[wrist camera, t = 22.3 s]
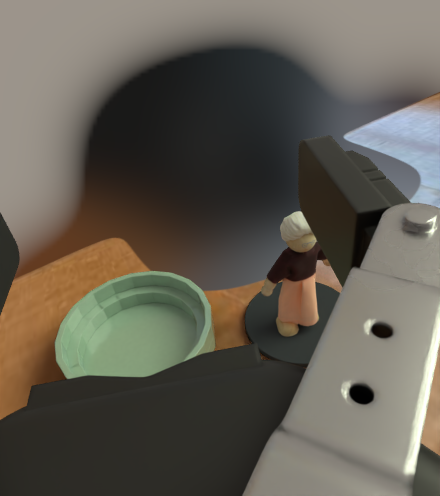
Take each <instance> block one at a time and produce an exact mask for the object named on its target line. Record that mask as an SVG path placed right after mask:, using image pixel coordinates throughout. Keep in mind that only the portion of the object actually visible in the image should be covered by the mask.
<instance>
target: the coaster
mask: <svg viewBox="0 0 440 496" xmlns="http://www.w3.org/2000/svg"><path fill="white" fill-rule="evenodd" d="M282 284H283V282H280V283H277V284H276V286H275V288H274V289H273V292H272V294H271V295H270V296H264V295H263V294H262V292H259V293H258V294H257V295H256V296H255V297H254V298H253V299H252V301H251V302H250V304H249V306H248V308H247V310H246V314H245V328H246V332H247V335H248V338H249V339H250V341H251V343H252V344H255V343H257V344H258V348H259V352H260V353H261V354H263V355H264V356H266V357H267V358H269V359H271V360H274V361H281V362H286V363H290V364H294V365H298V366H300V367H308V365H309V362H310V360H311V358H312V356H313V353H314V351H315V349H316V347H317V344H318V342H319V340H320V338H321V335H322V333H323V331H324V329H325V326H326V324H327V322H328V320H329V318H330V315H331V313H332V311H333V309H334V306H335V304H336V302H337V300H338V297H339V295H340V293H339V292H337V291H336V290H334V289H332V288H331V287H329V286H326V285H324V284H321V283H317V282H315V287H316V299H317V312H318V316H319V320H318V321H317V322H316V323H315V324H314V325H311V326H303V325H300V324H297V325H298V328H299V330H298V332H297V334H295V335H293V336H289V337H286V336H283V335H281V334H280V333H279V331H278V327H277V323H276V319H277V317H278V310H279V308H278V305H279V295H280V292H281V287H282Z"/></svg>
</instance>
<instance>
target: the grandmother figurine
mask: <svg viewBox="0 0 440 496" xmlns="http://www.w3.org/2000/svg"><path fill="white" fill-rule="evenodd" d="M280 231H281V236H282V238H283V240H285V241H286V242H287V245H288V246H289V247H288V248H287V249H285V250H284V251H283V252H282V254H281V255H280V257H279V258H278V259H277V261H276V262H275V264H274V265H273V267H272V268H271V270H270V271H269V273H268V275H267V278H266V280H265V282H264V286H263V287H262V289H261V292H262V294H263V295H264V296H270V295H271V294H272V292H273V289H274V288H275V286H276V284H277V283H278V282H279V281H281V280H282V279H283V284H282V287H281V292H280V295H279V305H278V308H279V310H278V317H277V319H276V323H277V327H278V331H279V333H280V334H281V335H283V336H286V337H289V336H293V335H295V334H297V332H298V330H299V328H298V325H297V324H300V325H303V326H311V325H314V324H315V323H316V322H317V321H318V320H319V316H318V312H317V299H316V287H315V275H316V263H317V260H322V261H323V263H324V265H326V266H331V265H330V264H329V262H328V260H327V258H326V256H325V254H324V253H323V251H322V249H321V247H320V245H319V243H318V242H316V238H315V236H314V234H313V232H312V231H311V229H310V227H309V225H308V223H307V221H306V220H305V218H304V216H303V214H302V212H294V213H293V214H291V215H290V216H288V217H285V218H284V221H283V223H282V224H281V226H280Z"/></svg>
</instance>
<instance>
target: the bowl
mask: <svg viewBox="0 0 440 496" xmlns="http://www.w3.org/2000/svg"><path fill="white" fill-rule="evenodd" d="M215 346H216V343H215V327H214V322H213V316H212V311H211V306H210V304H209V302H208V300H207V298H206V296H205V294H204V292H203V290H201V289H200V288H199V287H198V286H197V285H195V284H194V283H193V282H192V281H190V280H189V279H187V278H184V277H181V276H179V275H176V274H173V273H167V272H157V271H148V272H139V273H131V274H128V275H125V276H122V277H119V278H116V279H113V280H110V281H108V282H106V283H104V284H103V285H101V286H99V287H97V288H95V289H94V290H92V291H90V292H89V293H88V294H87V295H85V296H84V297H83V298H82V299H81V300H80V301H79V302H77V303H76V304H75V305H74V306H73V307H72V308H71V310H70V311H69V313H68V314H67V315H66V317H65V318H64V320H63V321H62V322H61V325H60V328H59V331H58V334H57V337H56V340H55V353H56V362H57V364H58V365H59V367H60V369H61V371H62V372H63V374H64V376H65V377H66V379H71V378H76V377H81V376H86V375H96V376H122V377H146V376H150V375H153V374H155V373H157V372H160V371H162V370H165V369H167V368H169V367H172V366H174V365H176V364H179V363H181V362H183V361H186V360H188V359H191V358H193V357H195V356H198V355H200V354H202V353H207V352H213V351H214V349H215Z"/></svg>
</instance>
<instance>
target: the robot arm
mask: <svg viewBox="0 0 440 496" xmlns="http://www.w3.org/2000/svg"><path fill="white" fill-rule="evenodd" d="M298 179H299V181H298V185H299V186H298V189H299V190H298V195H299V203H300V208H301V211H302V214H303V216H304V218H305V220H306V221H307V223H308V225H309V227H310V229H311V231H312V232H313V234H314V236H315V238H316V240H317V242H318V243H319V245H320V247H321V249H322V251H323V253H324V254H325V256H326V258H327V260H328V262H329V264H330V265H331V267H332V269H333V271H334V273H335V274H336V276H337V278H338V280H339V282H340V284H341V285H342V287H343V288H342V291H341V293H340V295H339V297H338V300H337V302H336V304H335V306H334V309H333V311H332V313H331V315H330V318H329V320H328V322H327V324H326V326H325V329H324V331H323V333H322V335H321V338H320V340H319V342H318V344H317V347H316V349H315V351H314V353H313V356H312V358H311V360H310V362H309V365H308V367H307V369H305V368H303V367H300V366H298V365H294V364H290V363H286V362H281V361H274V360H262V359H261V355H260V352H259V348H258V344H257V343H255V344H249V345H244V346H239V347H234V348H228V349H223V350H218V351H213V352H207V353H202V354H200V355H198V356H195V357H193V358H191V359H188V360H186V361H183V362H181V363H179V364H176V365H174V366H172V367H169V368H167V369H165V370H162V371H160V372H157V373H155V374H153V375H150V376H146V377H122V376H96V375H86V376H81V377H76V378H71V379H65V380H60V381H55V382H50V383H44V384H39V385H34V386H31V391H30V395H29V399H28V403H27V406H26V407H23V408H21V409H19V410H17V411H15V412H13V413H12V414H10V415H8V416H6V417H5V418H3V419H1V420H0V496H440V456H439V455H438V454H436V453H435V452H433V451H432V450H430V449H429V448H427V447H426V446H424V445H423V444H421V438H422V432H423V427H424V422H425V417H426V412H427V406H428V401H429V396H430V391H431V385H432V380H433V375H434V370H435V364H436V359H437V354H438V349H439V344H440V208H438V207H435V206H431V205H427V204H420V203H411V202H410V201H409V200H408V199H407V198H406V197H405V196H404V195H403V194H402V193H401V192H400V191H399V190H398V189H397V188H396V187H395V185H394V184H393V183H392V182H391V181H390V180H389V179H386V176H385V175H384V174H383V173H382V172H381V171H380V170H378V168H377V167H376V166H375V165H374V164H373V162H371V160H370V159H369V158H367V157H365V156H363V155H361V154H358V153H356V152H354V151H346V152H345V151H344V150H343V149H342V148H341V147H340V146H339V145H338V144H337V142H336V141H335V140H334V139H333V138H332V137H331V136H323V137H317V138H311V139H305V140H301V141H300V144H299V178H298ZM18 265H19V251H18V246H17V244H16V241H15V239H14V238H13V236H12V234H11V232H10V230H9V228H8V226H7V224H6V222H5V221H4V219H3V217H2V215H1V213H0V315H1V312H2V309H3V307H4V304H5V301H6V298H7V296H8V293H9V290H10V287H11V285H12V282H13V279H14V276H15V274H16V271H17V268H18Z"/></svg>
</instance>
